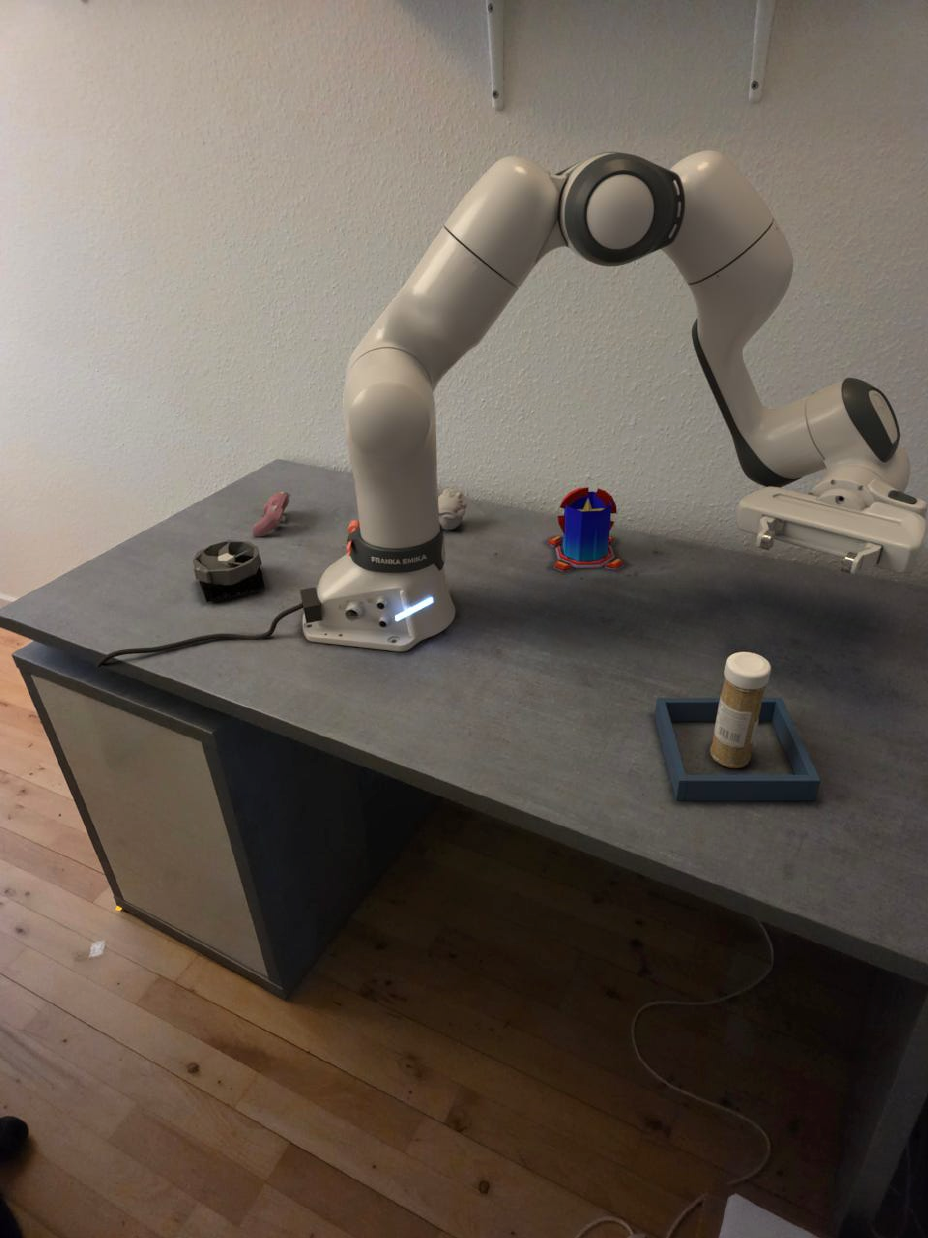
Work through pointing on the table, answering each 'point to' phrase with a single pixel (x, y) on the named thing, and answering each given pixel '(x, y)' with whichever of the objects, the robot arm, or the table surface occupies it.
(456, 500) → the frog figurine
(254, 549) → the cpu cooler
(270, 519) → the pink lumpy piece
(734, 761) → the sprinkles bottle
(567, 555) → the fantasy tower
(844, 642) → the table surface
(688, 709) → the square frame
